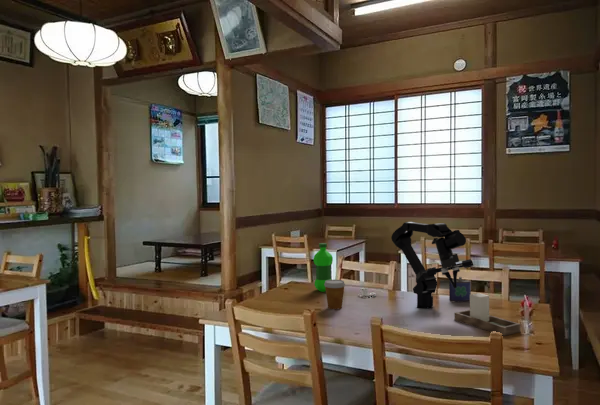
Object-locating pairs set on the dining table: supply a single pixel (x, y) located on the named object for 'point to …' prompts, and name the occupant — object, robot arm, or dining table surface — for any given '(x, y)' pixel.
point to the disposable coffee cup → (334, 293)
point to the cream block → (479, 306)
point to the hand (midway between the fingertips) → (455, 288)
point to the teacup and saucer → (366, 292)
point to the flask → (460, 290)
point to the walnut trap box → (489, 323)
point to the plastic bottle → (322, 267)
